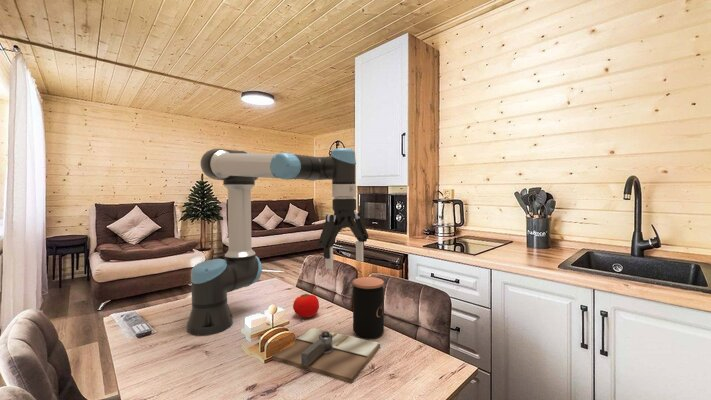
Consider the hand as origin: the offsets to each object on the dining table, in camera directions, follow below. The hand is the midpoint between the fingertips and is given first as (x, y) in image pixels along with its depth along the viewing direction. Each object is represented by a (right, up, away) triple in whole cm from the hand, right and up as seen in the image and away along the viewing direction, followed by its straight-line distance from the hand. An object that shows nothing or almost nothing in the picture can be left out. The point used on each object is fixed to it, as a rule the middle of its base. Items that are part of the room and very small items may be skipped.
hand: (345, 264), depth 101 cm
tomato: (-16, -25, +24) cm, 38 cm away
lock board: (-6, -26, -5) cm, 27 cm away
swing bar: (-8, -24, -9) cm, 27 cm away
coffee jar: (+8, -26, +9) cm, 28 cm away
